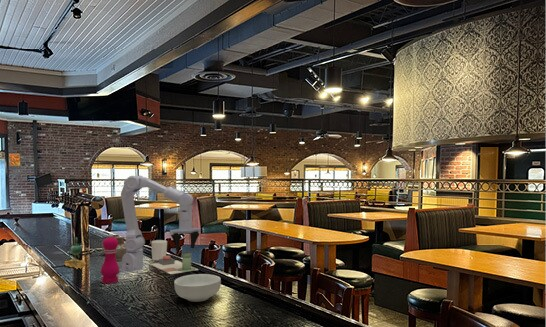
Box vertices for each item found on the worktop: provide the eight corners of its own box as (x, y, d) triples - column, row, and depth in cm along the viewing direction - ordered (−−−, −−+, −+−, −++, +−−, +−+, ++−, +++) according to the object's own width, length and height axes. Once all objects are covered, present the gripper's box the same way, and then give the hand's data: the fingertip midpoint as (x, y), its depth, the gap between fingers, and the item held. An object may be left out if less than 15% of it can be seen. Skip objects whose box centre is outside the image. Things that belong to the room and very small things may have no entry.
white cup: (157, 263, 206) (157, 243, 206) (147, 261, 211) (148, 241, 211) (170, 260, 213) (170, 241, 213) (160, 258, 217) (160, 239, 217)
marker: (188, 270, 187) (188, 254, 187) (180, 270, 188) (180, 253, 188) (192, 268, 191) (192, 252, 191) (184, 268, 192) (185, 251, 192)
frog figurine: (82, 260, 211) (83, 232, 210) (89, 272, 196) (91, 241, 195) (61, 262, 205) (63, 233, 204) (67, 274, 190) (69, 243, 189)
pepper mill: (112, 284, 168) (113, 235, 168) (96, 283, 169) (97, 234, 169) (122, 279, 175) (123, 232, 175) (107, 278, 176) (108, 232, 176)
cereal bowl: (200, 289, 163) (200, 271, 163) (230, 297, 152) (230, 278, 152) (164, 299, 149) (164, 279, 150) (194, 309, 139) (194, 288, 139)
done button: (171, 260, 201) (171, 256, 201) (164, 261, 199) (164, 257, 199) (168, 259, 204) (168, 255, 204) (161, 260, 202) (161, 256, 202)
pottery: (110, 263, 206) (111, 239, 206) (99, 254, 226) (100, 232, 226) (133, 260, 212) (134, 237, 212) (120, 252, 233) (121, 231, 233)
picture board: (199, 272, 189) (199, 265, 189) (170, 276, 181) (170, 269, 181) (176, 262, 209) (176, 256, 209) (149, 266, 200) (150, 259, 200)
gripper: (174, 221, 183) (173, 252, 183) (203, 219, 192) (203, 248, 192) (168, 219, 189) (167, 249, 189) (196, 218, 198) (196, 246, 198)
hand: (185, 248), depth 191 cm, fingers open, 7 cm apart
